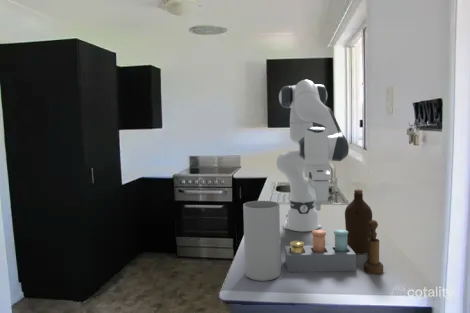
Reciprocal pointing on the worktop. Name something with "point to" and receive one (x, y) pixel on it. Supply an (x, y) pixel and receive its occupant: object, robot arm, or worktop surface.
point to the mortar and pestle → (373, 252)
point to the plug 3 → (340, 240)
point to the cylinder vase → (262, 240)
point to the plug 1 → (296, 246)
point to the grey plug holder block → (320, 260)
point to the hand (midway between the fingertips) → (317, 209)
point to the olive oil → (358, 223)
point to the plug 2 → (318, 241)
